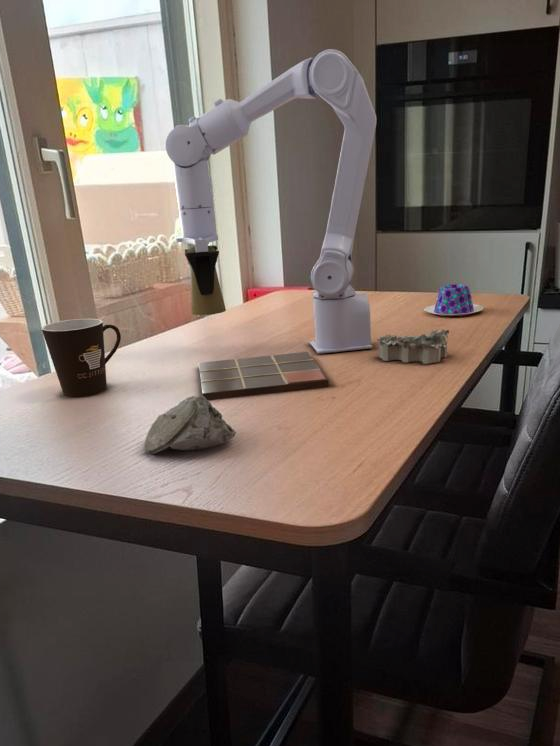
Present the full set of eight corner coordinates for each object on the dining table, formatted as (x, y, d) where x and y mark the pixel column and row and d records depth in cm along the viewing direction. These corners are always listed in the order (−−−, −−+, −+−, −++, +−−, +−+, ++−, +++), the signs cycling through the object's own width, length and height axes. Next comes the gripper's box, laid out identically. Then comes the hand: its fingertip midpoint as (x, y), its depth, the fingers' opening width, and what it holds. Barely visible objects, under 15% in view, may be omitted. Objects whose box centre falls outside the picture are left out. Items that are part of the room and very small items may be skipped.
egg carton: (452, 354, 113) (453, 329, 112) (434, 366, 107) (435, 339, 106) (392, 349, 118) (392, 325, 117) (372, 360, 113) (371, 334, 111)
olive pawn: (219, 314, 119) (211, 247, 115) (186, 315, 121) (177, 248, 116) (230, 307, 125) (223, 243, 120) (198, 308, 126) (190, 244, 121)
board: (307, 357, 117) (307, 350, 116) (328, 386, 101) (328, 379, 100) (199, 368, 114) (198, 361, 114) (203, 400, 98) (202, 392, 98)
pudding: (440, 305, 152) (440, 280, 150) (492, 308, 145) (494, 282, 143) (413, 315, 143) (413, 289, 141) (468, 320, 137) (469, 292, 134)
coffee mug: (60, 403, 101) (45, 334, 97) (51, 389, 108) (37, 324, 104) (140, 388, 106) (129, 321, 101) (126, 376, 113) (115, 313, 108)
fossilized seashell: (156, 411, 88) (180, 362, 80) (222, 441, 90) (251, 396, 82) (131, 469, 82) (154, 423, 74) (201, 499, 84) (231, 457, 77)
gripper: (172, 208, 122) (183, 287, 127) (171, 211, 109) (183, 300, 114) (212, 205, 123) (221, 284, 128) (216, 208, 110) (226, 296, 115)
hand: (206, 291), depth 121 cm, fingers closed on olive pawn, 5 cm apart
